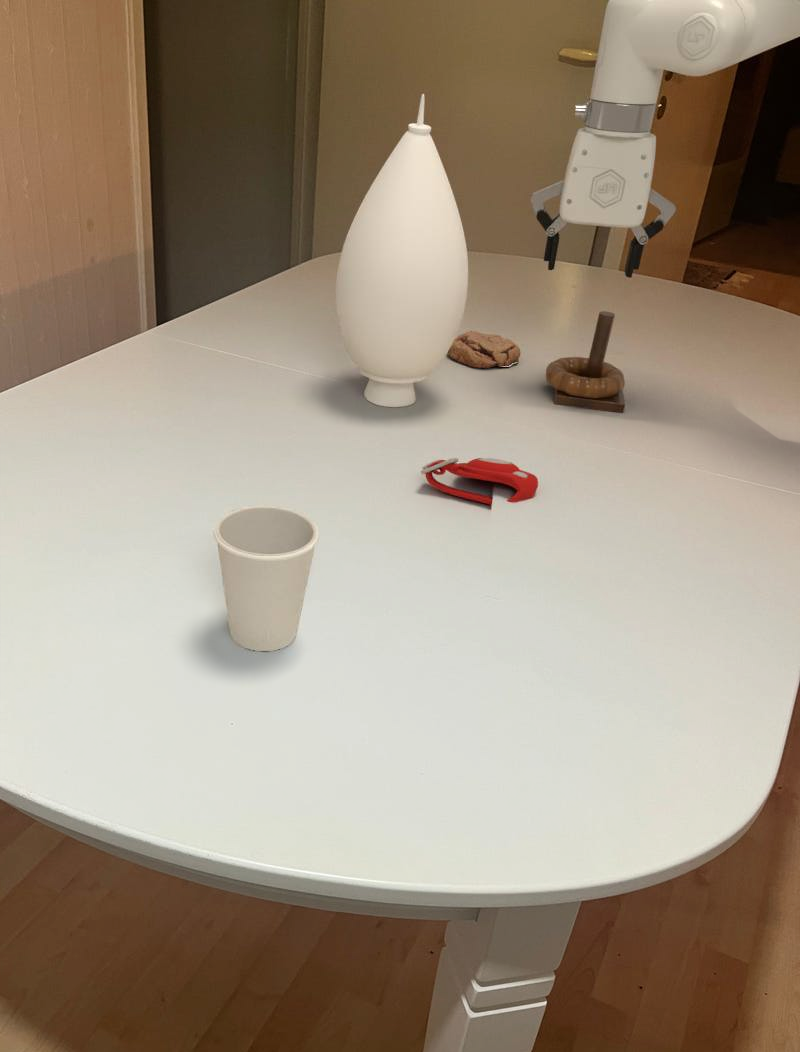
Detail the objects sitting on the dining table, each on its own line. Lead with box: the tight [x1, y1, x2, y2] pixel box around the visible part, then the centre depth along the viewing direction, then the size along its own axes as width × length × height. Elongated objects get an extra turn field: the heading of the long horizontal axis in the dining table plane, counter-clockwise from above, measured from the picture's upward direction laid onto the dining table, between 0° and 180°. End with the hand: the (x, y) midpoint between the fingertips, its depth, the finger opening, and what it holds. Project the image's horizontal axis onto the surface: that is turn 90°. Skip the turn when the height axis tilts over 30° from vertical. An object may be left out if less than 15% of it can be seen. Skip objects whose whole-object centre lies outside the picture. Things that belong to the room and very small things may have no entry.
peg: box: [554, 310, 626, 414], centre depth 127 cm, size 9×9×11 cm
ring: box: [545, 356, 626, 399], centre depth 129 cm, size 10×10×3 cm
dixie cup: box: [212, 504, 320, 652], centre depth 78 cm, size 8×8×10 cm
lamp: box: [335, 93, 469, 408], centre depth 116 cm, size 16×16×35 cm
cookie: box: [447, 330, 521, 369], centre depth 140 cm, size 10×11×3 cm
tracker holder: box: [420, 457, 539, 506], centre depth 104 cm, size 12×4×10 cm
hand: (589, 271), depth 121 cm, fingers open, 9 cm apart
